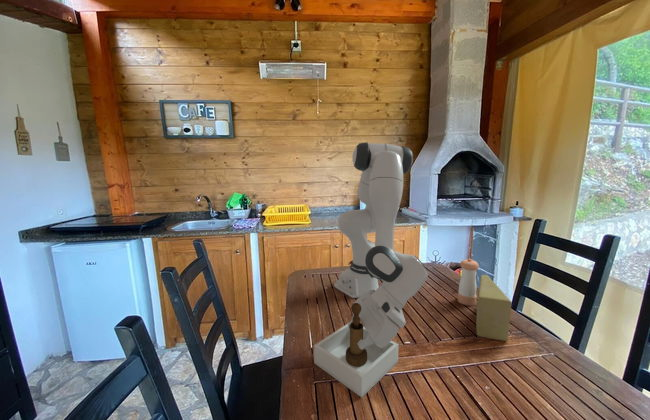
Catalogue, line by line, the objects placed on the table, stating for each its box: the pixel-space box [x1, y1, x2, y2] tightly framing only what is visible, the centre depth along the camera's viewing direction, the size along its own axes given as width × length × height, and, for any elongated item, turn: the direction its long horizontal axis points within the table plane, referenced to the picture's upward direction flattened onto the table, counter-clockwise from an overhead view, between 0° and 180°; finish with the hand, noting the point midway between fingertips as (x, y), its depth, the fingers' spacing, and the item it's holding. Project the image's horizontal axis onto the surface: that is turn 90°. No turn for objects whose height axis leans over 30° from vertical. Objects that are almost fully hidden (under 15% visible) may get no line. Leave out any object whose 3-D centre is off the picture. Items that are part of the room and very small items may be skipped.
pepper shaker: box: [456, 258, 480, 307], centre depth 118 cm, size 7×7×19 cm
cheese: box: [475, 274, 512, 342], centre depth 103 cm, size 22×10×15 cm, turn 159°
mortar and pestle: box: [346, 302, 367, 367], centre depth 83 cm, size 7×6×18 cm
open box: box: [313, 322, 400, 398], centre depth 84 cm, size 18×18×6 cm
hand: (354, 337), depth 83 cm, fingers open, 8 cm apart
